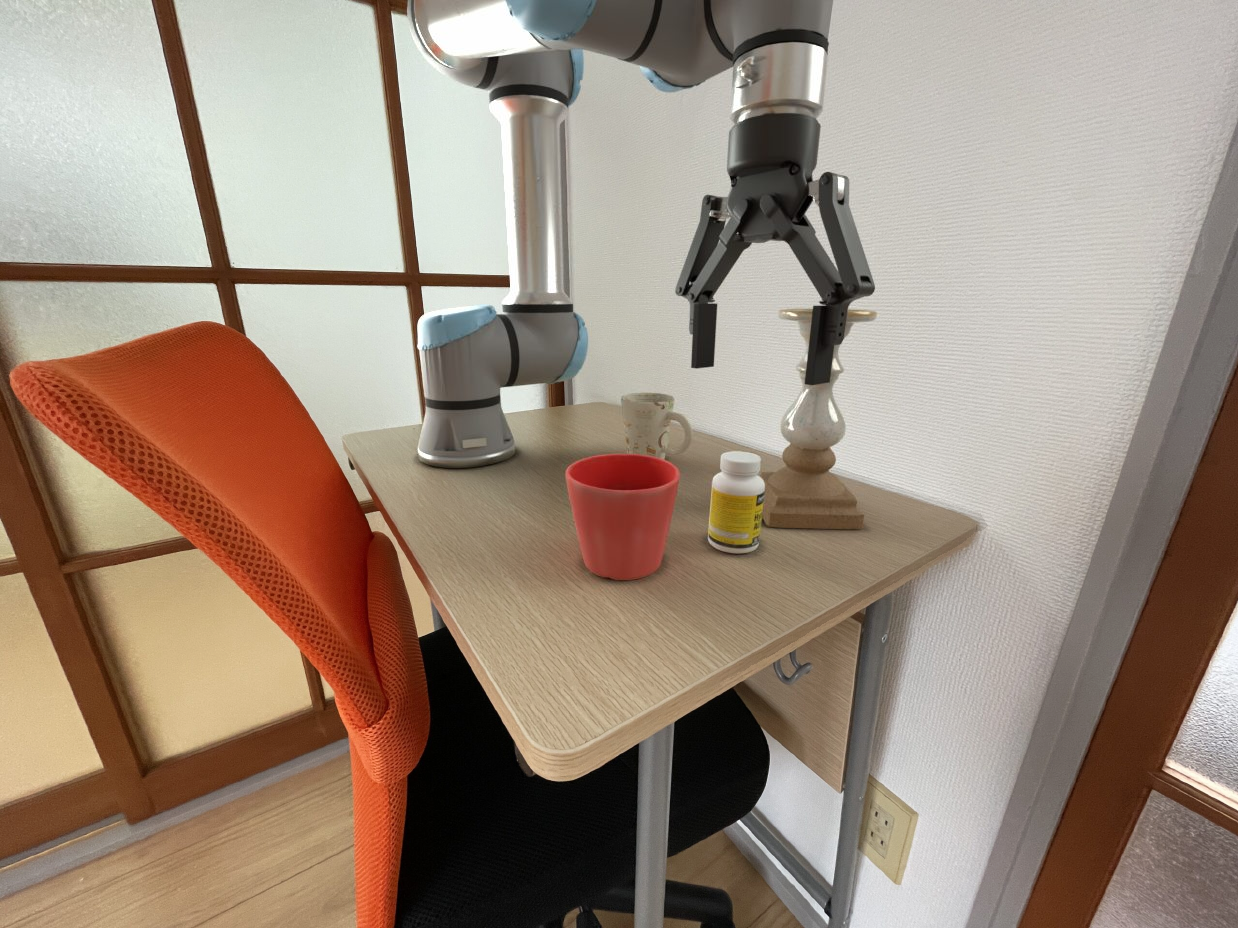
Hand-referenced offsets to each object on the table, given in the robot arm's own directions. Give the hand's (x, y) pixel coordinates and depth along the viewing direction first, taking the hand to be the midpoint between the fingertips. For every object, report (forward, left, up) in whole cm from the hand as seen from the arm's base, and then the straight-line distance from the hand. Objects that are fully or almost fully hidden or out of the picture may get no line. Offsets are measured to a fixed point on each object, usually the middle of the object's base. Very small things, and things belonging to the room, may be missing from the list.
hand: (754, 375), depth 51 cm
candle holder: (-1, +13, -18) cm, 23 cm away
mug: (-27, +12, -18) cm, 35 cm away
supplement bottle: (0, -1, -18) cm, 18 cm away
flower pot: (-4, -13, -18) cm, 23 cm away
